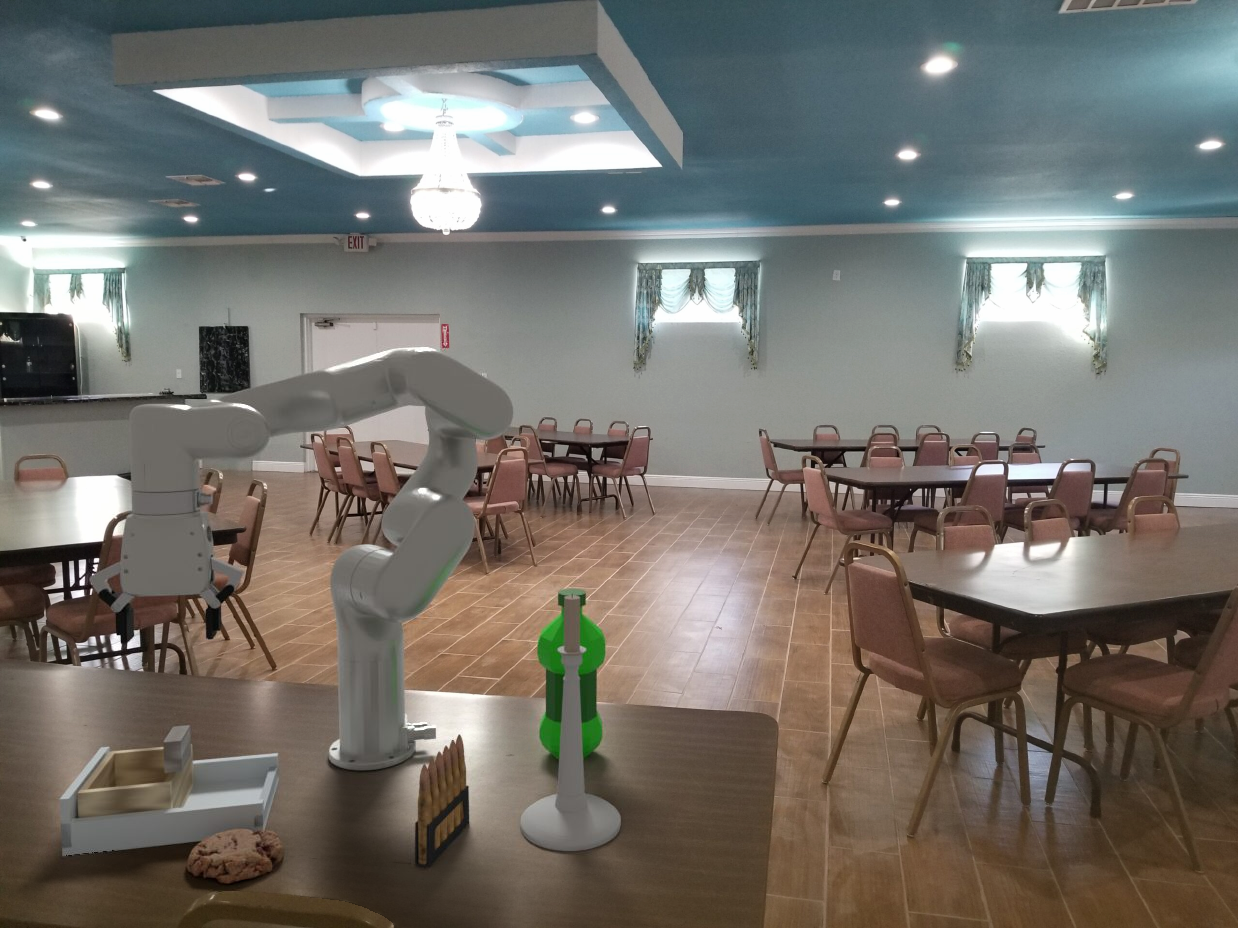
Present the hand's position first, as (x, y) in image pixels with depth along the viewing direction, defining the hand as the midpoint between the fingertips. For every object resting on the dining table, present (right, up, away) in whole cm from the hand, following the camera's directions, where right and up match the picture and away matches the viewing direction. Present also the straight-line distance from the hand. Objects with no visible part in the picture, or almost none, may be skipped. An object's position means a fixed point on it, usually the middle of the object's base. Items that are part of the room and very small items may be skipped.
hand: (170, 638), depth 108 cm
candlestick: (+50, -24, +2) cm, 56 cm away
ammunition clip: (+35, -25, -3) cm, 43 cm away
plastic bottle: (+49, -22, +22) cm, 58 cm away
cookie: (+12, -25, -8) cm, 29 cm away
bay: (0, -23, +3) cm, 23 cm away
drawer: (-4, -22, +1) cm, 23 cm away
